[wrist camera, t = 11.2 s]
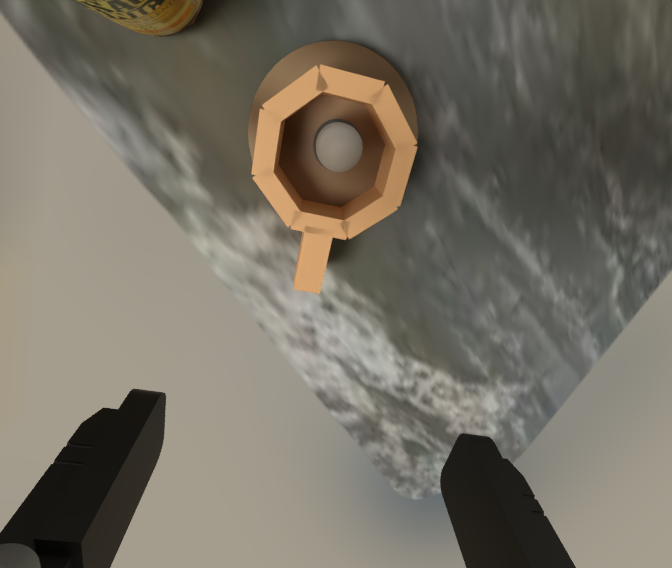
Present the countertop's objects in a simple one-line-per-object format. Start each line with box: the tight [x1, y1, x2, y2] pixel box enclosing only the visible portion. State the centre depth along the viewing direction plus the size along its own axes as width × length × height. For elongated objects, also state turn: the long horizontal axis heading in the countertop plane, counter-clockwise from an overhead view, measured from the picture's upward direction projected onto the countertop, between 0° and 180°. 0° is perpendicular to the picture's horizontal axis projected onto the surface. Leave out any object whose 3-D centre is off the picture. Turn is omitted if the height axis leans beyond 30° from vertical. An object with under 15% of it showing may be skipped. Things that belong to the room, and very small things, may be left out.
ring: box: [252, 64, 418, 294], centre depth 24 cm, size 13×9×4 cm
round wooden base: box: [248, 41, 418, 207], centre depth 22 cm, size 11×11×8 cm
